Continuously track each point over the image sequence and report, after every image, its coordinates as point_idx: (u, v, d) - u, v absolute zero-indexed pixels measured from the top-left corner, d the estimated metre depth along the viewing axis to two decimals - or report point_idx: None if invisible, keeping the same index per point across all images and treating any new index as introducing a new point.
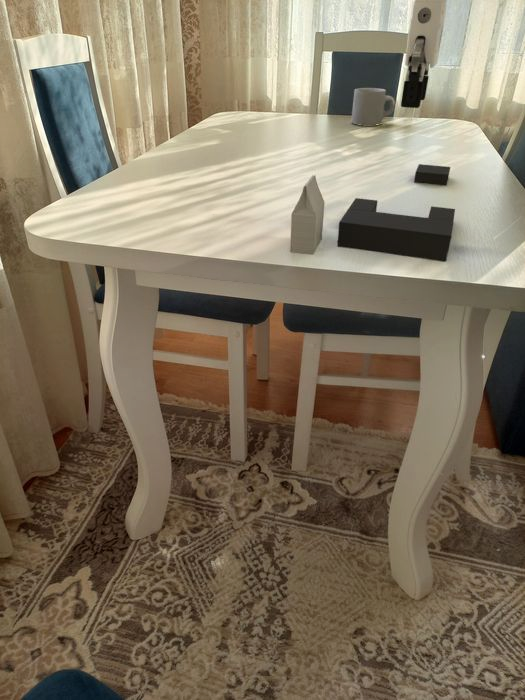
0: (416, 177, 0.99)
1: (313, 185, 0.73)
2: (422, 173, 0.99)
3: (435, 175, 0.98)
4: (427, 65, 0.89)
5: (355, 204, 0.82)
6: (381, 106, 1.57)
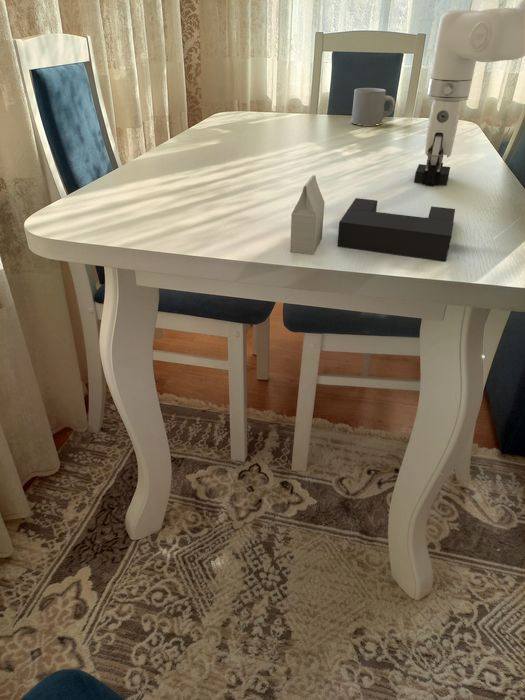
0: (416, 177, 0.99)
1: (313, 185, 0.73)
2: (422, 173, 0.99)
3: None
4: (442, 152, 1.01)
5: (355, 204, 0.82)
6: (381, 106, 1.57)
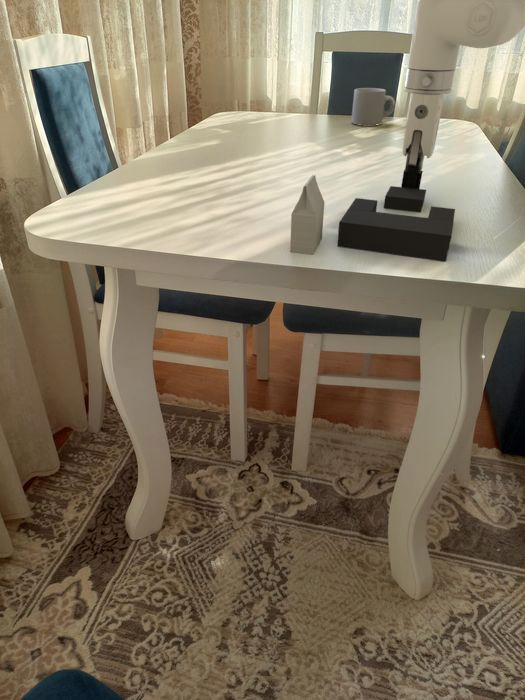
0: (386, 202, 0.86)
1: (313, 185, 0.73)
2: (393, 198, 0.85)
3: (407, 200, 0.85)
4: None
5: (355, 204, 0.82)
6: (381, 106, 1.57)
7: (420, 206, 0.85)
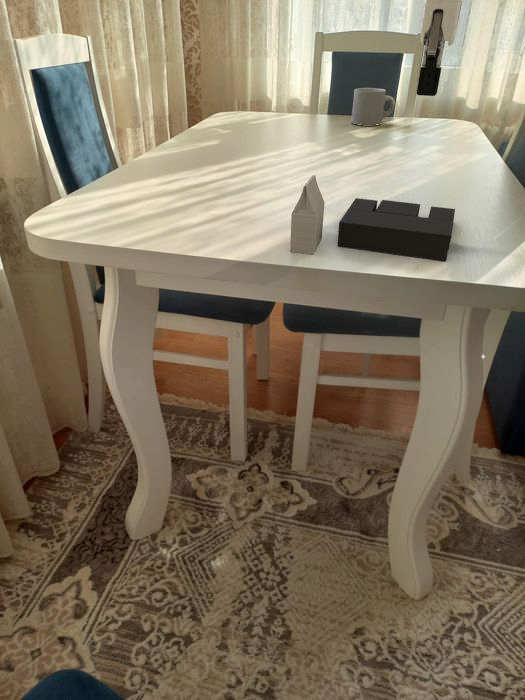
0: None
1: (313, 185, 0.73)
2: None
3: None
4: None
5: (355, 204, 0.82)
6: (381, 106, 1.57)
7: None
